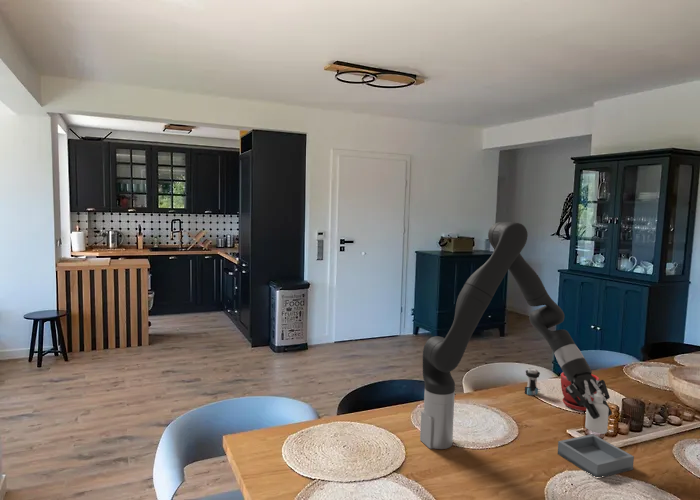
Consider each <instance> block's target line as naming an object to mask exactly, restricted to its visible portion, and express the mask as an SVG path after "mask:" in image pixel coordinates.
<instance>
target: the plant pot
mask: <svg viewBox="0 0 700 500" xmlns="http://www.w3.org/2000/svg"><path fill="white" fill-rule="evenodd" d="M591 374H592V376H593V377H594V378H595V379H596V380H598V381H600V377H599V376H597V375H595V374H593V373H591ZM570 385H571V381H568V380H567V378H566V376H565V374H564V372H563V371H562V372H561V374H560V387H561V392H562V395H563V398H562V402H563V404H564V405H565V406H566V407H568V408H569V407H570V409H573V410H575V411H582V412H586V409H587V408H586V407H585V406H583V405H581V406H579V405H578V404H577V403H576V401H575V400H574V399H573V398H572V397H571V395H570V394H569V393H568V392H567V391H566V388H567V387H568V386H570ZM595 393H597V392H594V394H595ZM590 397H591V396H590ZM577 398H578V399H579V397H577ZM579 400H580V399H579ZM586 400H587V399H586ZM591 400H592V401H593V400H594V398H592V397H591Z"/></svg>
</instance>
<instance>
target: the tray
mask: <svg viewBox="0 0 700 500" xmlns="http://www.w3.org/2000/svg"><path fill="white" fill-rule="evenodd" d="M557 455H558V456H560V457H562V458H563V459H565V460H566V461H567V462H569V463H571V464H572V465H575V466H576V467H578V468H579V469H581V470H582V471H584V472H585V471H586V472H585V473H587V472H588V473H590V474H592V475H593V476H595V477H602V476H606V477H609V476H608V475H610V476H614V475H617V474H622V473H625V472H629V471H633V470H634V459H635V456H634V455H632V454H630V453H629V452H627V451H625V450H623V449H621V448H620V447H617V446H615V445H614V444H611V442H609V441H606V440H604V438H603V439H602V438H601V437H600V436H597V435H595V434H587V435H582V436H576V437H573V438H572V437H571V438H568V439H563V440H559V441H557ZM588 473H587V474H588ZM590 474H589V475H590ZM593 476H592V477H593ZM602 478H603V477H602Z"/></svg>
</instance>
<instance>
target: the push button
mask: <svg viewBox="0 0 700 500" xmlns="http://www.w3.org/2000/svg"><path fill="white" fill-rule="evenodd" d="M540 374H541V373H540V372H539V370H538V369H537V368H533V367H530V368H528V369H526V370H525V375H526V377H527V386H524V393H525V395H527V396H536V395H538V394H539V393H541V389H539V387H538V386H537V384H538V383H537V378H540Z"/></svg>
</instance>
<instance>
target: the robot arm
mask: <svg viewBox="0 0 700 500" xmlns="http://www.w3.org/2000/svg"><path fill="white" fill-rule="evenodd" d="M528 234H529V233H528V230H527V228H526V226H525V225H524V224H522V223H519V222H515V221H514V222H512V221H498V222H495V223H493V224H492V225H491V226H490V228H489V229H488V234H487V238H488V241H489V244H490V245H491V247H492V248H493V252H492V254H491V256H490V257H489V258H488V259H487V260H486V261H485V263H484V264H482V265H481V266H480V267H479V268H477V269H476V270H475V271H474V272H473V273H472V274H471V275H470V276H469V277H468V278H467V280H466V281H465V283H464V284H463V287H462V288H461V290H460V291H459V294H458V295H457V299H456V303H455V309H454V318H453V322H452V324H451V327H450V329H449V331H447V334H446V335H445V337H442V336H438V335H435V336H431V337H430V338H428V339H427V340H426V342H425V344H424V347H423V350H422V378H423V381H424V396H423V400H424V401H423V410H421V412H420V428H419V429H420V432H419V433H420V434H419V441H421V443H423V444H424V445H425V446H426V447H427V448H429V450H431V449H434V450H444V449H445V450H447V449H449V448H451V447H452V446H453V439H454V415H455V412H454V411H455V397H456V395H455V391H456V383H455V380H454V378H453V377H452V374H451V372H452V371H453V370H455V369H456V368H457V367H458V366H459V364H460V362H461V361H462V359H463V357H464V354H465V353H466V352H465V351H466V349H467V347H468V345H469V342H470V341H471V338H472V336H473V333H474V332H475V330H476V328H477V326H478V325H479V322H480V321H481V318H482V317H483V315H484V313H485V311H486V310H487V308H488V306H489V305H490V303H491V301H492V299H493V297H494V296H495V293H496V291H497V290H498V288H499V286H500V285H501V283H502V281H503V279H504V278H505V276H506V275H507V273H508V271H509V272H510V273H511V275H512V276H513V279H514V280H515V282H516V284H517V285H518V287H519V289H520V292H521V293H522V295H523V298H524V299H525V302H526V303H527V304H528V305H529V306H530V307H540V306H542V307H540V308H537V309H534V310H533V311H531V312H530V313H529V316H528V317H529V322H530V324H531V325H532V327H533V328H534V329H536V331H537V332H539V334H541V336H542V337H543V338H544V339H545V340H546V341H547V343H548V345H549V346H550V348H551V350H552V352H553V354H554V356H555V358H556V359H555V360H556V362H557V363H558V365H559V367H560V368H561V369H560V370H562V373H563V372H564V374H565V376H566V378H567V380H568V381H571V385H570V386H568V387H567V388H566V391H567V392H568V393H569V394H570V395H571V397H572V398H573V399H574V400H575V401H576V403H577V404H578V405H579V406H581V405H583V406H585V407H586V408H587V410H588V412H589V413H590V415H591V417H592V418H593V419H597V418H598V417H600V415H599V413H598V411H597V409H596V408H595V406H594V404H592V400H591V397H592V398H594V392H597V391H598V390H599V391H600V393H601V395H603V404H605V405H606V406H607V407H608V408H609V414H608V417H610V416H612V415H613V413H612V410H611V408H610V406H609V404H608V403H607V401H608V400H609V399H611V398H610V397H611V396H610V394H609V390H608V388H607V384H606V381H605V380H604V379H601V380H599V381H598V380H596V379H595V378H594V377H593V376H592V374H593V373H592V372H593V371H592V369H591V366H590V365H589V364H588V361H587V360H586V358H585V357H584V355H583V353H582V351H581V350H580V349H579V348H578V346H577V344H576V343H575V341H574V340H573V338H572V335H570V333H569V331H568V330H566V329H557V330H550V329H551V328H553V327H555V326H557V325H560V324H562V323H563V322H564V320H565V313H564V311H563V309H562V308H561V307H560V306H559V305H558V304H557V303H556V302H555V301H554V300H553V299H552V298H551V296H550V295H549V293H548V292H547V289H546V287H545V285H544V283H543V282H542V279H541V278H540V276H539V275H538V274H537V272H536V270H534V269H533V267H531V266H530V265H529V263H528V262H527V261H526V260H525V259H524V257H523V256H522V254H521V252H522V250H523V249H524V248H525V246H526V243H527V241H528ZM595 394H597V393H595ZM590 396H591V397H590ZM577 397H579V399H580V400H579V399H578V398H577ZM586 399H587V400H586Z"/></svg>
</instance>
